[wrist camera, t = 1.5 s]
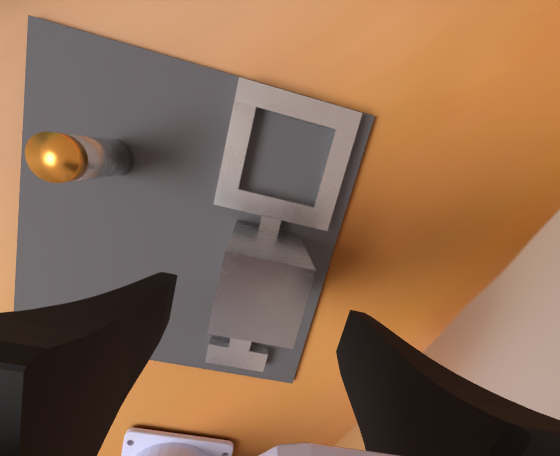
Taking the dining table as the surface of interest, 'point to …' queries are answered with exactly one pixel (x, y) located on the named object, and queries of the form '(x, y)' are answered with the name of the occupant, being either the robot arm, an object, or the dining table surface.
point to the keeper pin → (76, 157)
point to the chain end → (270, 231)
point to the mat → (158, 185)
